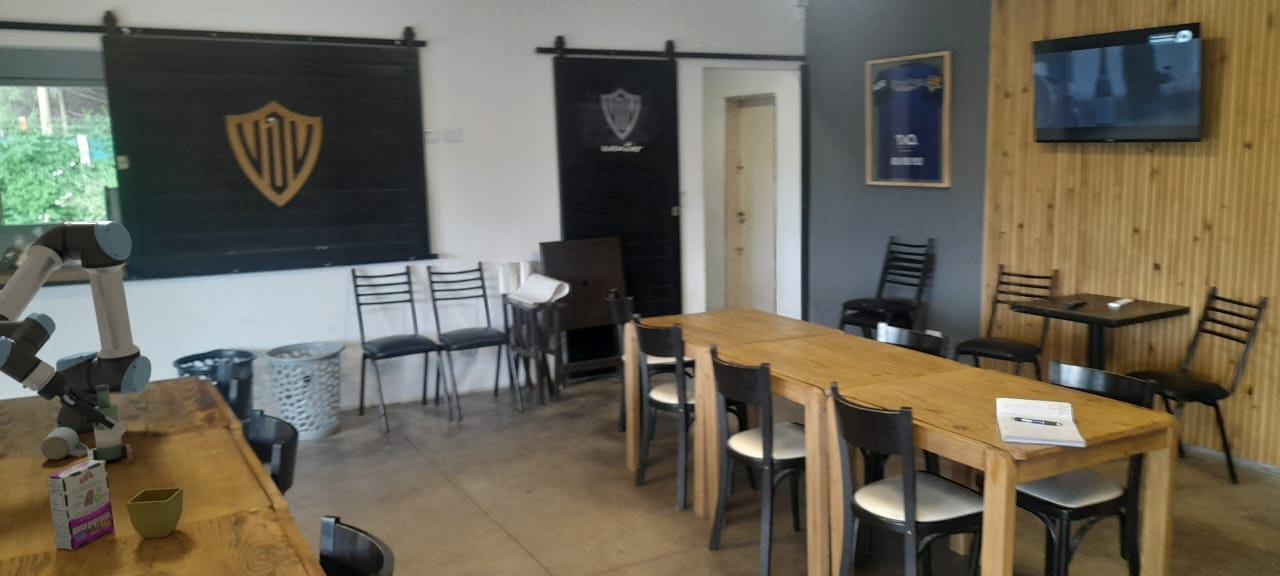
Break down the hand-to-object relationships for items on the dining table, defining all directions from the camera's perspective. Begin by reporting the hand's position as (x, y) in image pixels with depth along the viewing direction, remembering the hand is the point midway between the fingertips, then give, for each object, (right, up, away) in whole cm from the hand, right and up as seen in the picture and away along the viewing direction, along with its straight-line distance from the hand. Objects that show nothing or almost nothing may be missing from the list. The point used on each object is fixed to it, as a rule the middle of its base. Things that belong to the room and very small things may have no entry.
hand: (122, 430), depth 256 cm
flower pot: (+37, -15, -51) cm, 65 cm away
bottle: (-3, -7, -1) cm, 8 cm away
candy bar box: (+22, -16, -53) cm, 60 cm away
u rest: (-3, -9, -1) cm, 9 cm away
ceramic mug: (-19, -8, +5) cm, 21 cm away
